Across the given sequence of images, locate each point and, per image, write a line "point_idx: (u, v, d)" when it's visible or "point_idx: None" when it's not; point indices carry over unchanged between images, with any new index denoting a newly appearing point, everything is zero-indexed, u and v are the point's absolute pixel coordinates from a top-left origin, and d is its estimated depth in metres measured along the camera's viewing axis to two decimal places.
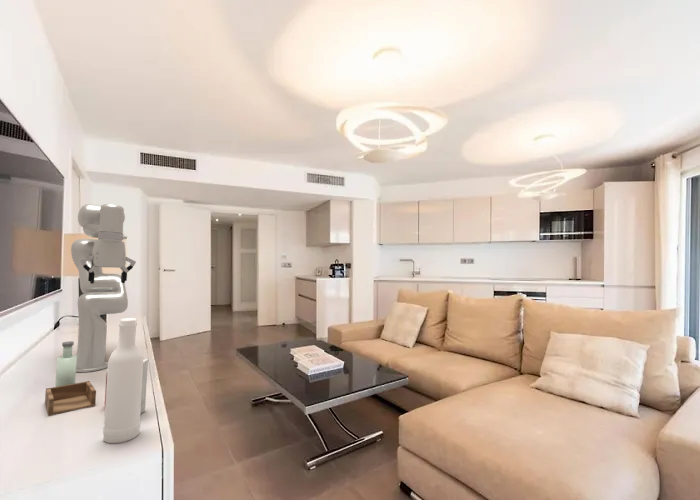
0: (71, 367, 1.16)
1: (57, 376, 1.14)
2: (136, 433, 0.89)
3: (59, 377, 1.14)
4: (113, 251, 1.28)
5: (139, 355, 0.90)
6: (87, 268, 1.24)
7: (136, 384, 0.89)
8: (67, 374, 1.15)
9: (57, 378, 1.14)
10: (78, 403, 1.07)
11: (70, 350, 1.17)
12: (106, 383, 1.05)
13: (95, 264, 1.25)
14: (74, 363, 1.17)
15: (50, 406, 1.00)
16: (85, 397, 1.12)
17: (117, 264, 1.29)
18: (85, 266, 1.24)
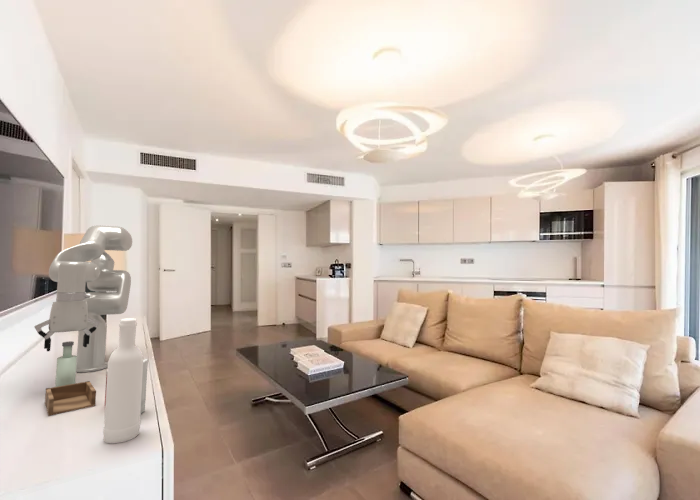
0: (71, 367, 1.16)
1: (57, 376, 1.14)
2: (136, 433, 0.89)
3: (59, 377, 1.14)
4: (73, 313, 1.16)
5: (139, 355, 0.90)
6: (42, 334, 1.12)
7: (136, 384, 0.89)
8: (67, 374, 1.15)
9: (57, 378, 1.14)
10: (78, 403, 1.07)
11: (70, 350, 1.17)
12: (106, 383, 1.05)
13: (52, 330, 1.13)
14: (74, 363, 1.17)
15: (50, 406, 1.00)
16: (85, 397, 1.12)
17: (78, 327, 1.17)
18: (40, 332, 1.11)
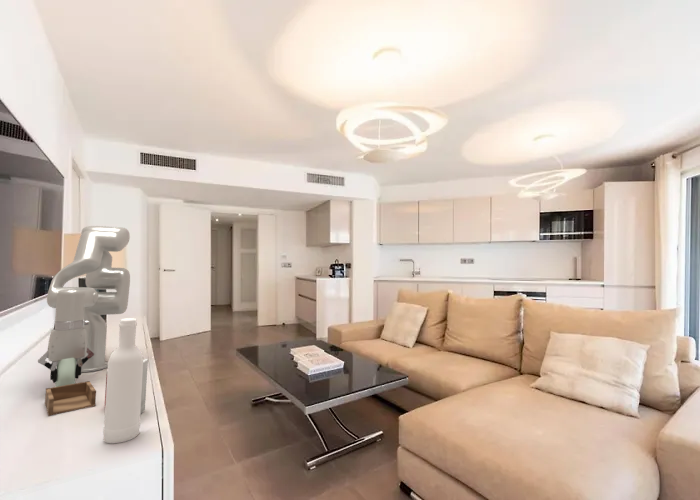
0: (71, 367, 1.16)
1: (57, 376, 1.14)
2: (136, 433, 0.89)
3: (59, 377, 1.14)
4: (72, 341, 1.16)
5: (139, 355, 0.90)
6: (49, 366, 1.13)
7: (136, 384, 0.89)
8: (67, 374, 1.15)
9: (57, 378, 1.14)
10: (78, 403, 1.07)
11: None
12: (106, 383, 1.05)
13: (50, 359, 1.13)
14: (74, 363, 1.17)
15: (50, 406, 1.00)
16: (85, 397, 1.12)
17: (76, 355, 1.17)
18: (46, 364, 1.13)
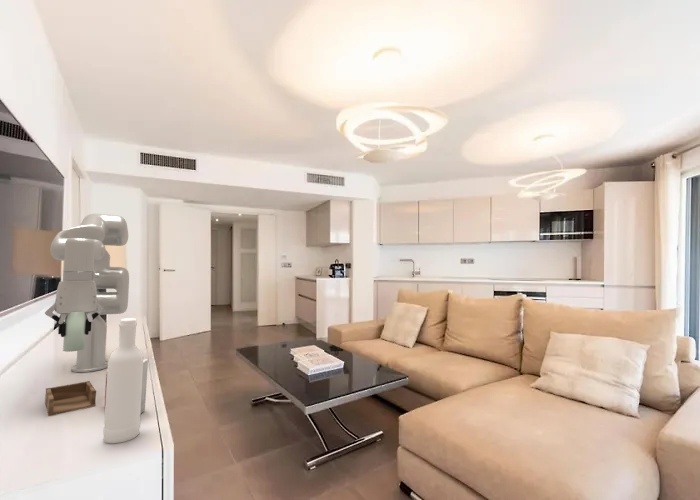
0: (80, 321, 1.07)
1: (66, 330, 1.06)
2: (136, 433, 0.89)
3: (68, 332, 1.05)
4: (81, 294, 1.08)
5: (139, 355, 0.90)
6: (56, 319, 1.04)
7: (136, 384, 0.89)
8: (77, 328, 1.06)
9: (66, 332, 1.06)
10: (78, 403, 1.07)
11: None
12: (106, 383, 1.05)
13: (58, 311, 1.04)
14: (83, 318, 1.08)
15: (50, 406, 1.00)
16: (85, 397, 1.12)
17: (86, 309, 1.09)
18: (54, 317, 1.04)
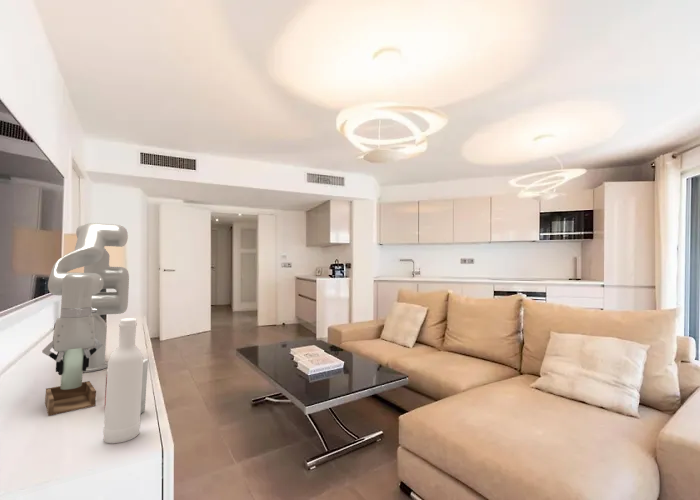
0: (78, 358, 1.07)
1: (63, 368, 1.05)
2: (136, 433, 0.89)
3: (66, 369, 1.05)
4: (79, 330, 1.07)
5: (139, 355, 0.90)
6: (54, 357, 1.04)
7: (136, 384, 0.89)
8: (74, 365, 1.06)
9: (63, 370, 1.05)
10: (78, 403, 1.07)
11: None
12: (106, 383, 1.05)
13: (56, 349, 1.03)
14: (81, 354, 1.07)
15: (50, 406, 1.00)
16: (85, 397, 1.12)
17: (84, 345, 1.08)
18: (51, 355, 1.03)
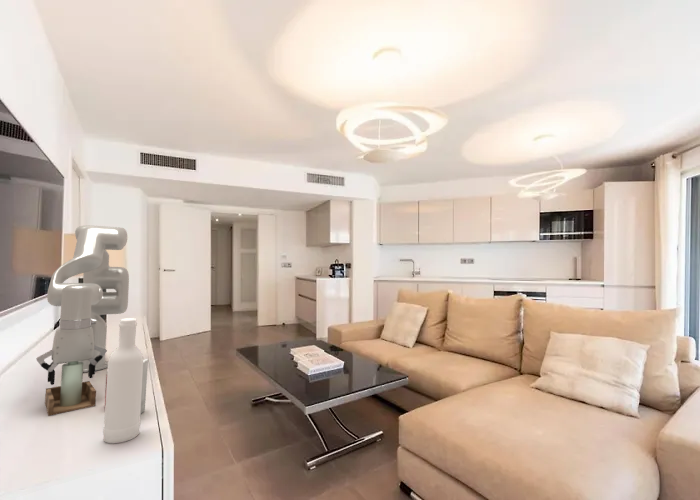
0: (77, 375, 1.06)
1: (62, 385, 1.05)
2: (136, 433, 0.89)
3: (65, 386, 1.05)
4: (78, 342, 1.07)
5: (139, 355, 0.90)
6: (46, 367, 1.02)
7: (136, 384, 0.89)
8: (73, 382, 1.06)
9: (62, 387, 1.05)
10: None
11: None
12: (106, 383, 1.05)
13: (55, 361, 1.03)
14: (80, 371, 1.07)
15: (50, 406, 1.00)
16: (85, 397, 1.12)
17: (83, 357, 1.08)
18: (43, 365, 1.02)
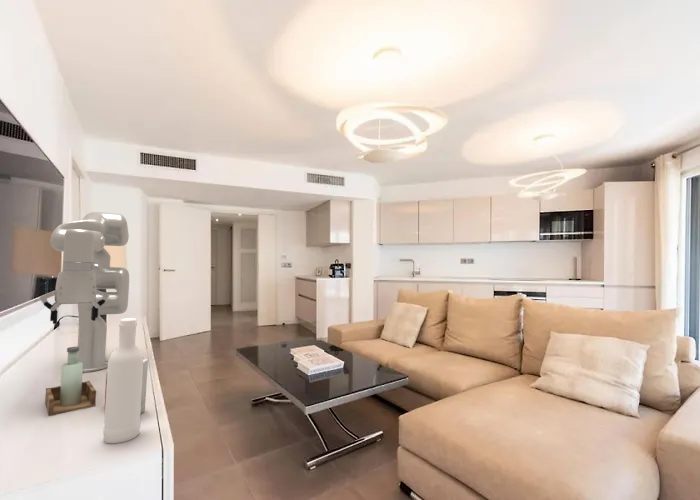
0: (77, 374, 1.06)
1: (62, 385, 1.05)
2: (136, 433, 0.89)
3: (64, 386, 1.05)
4: (81, 284, 1.09)
5: (139, 355, 0.90)
6: (48, 306, 1.04)
7: (136, 384, 0.89)
8: (73, 382, 1.06)
9: (62, 387, 1.05)
10: (78, 403, 1.07)
11: (75, 356, 1.07)
12: (106, 383, 1.05)
13: (58, 301, 1.05)
14: (80, 371, 1.07)
15: (50, 406, 1.00)
16: (85, 397, 1.12)
17: (86, 299, 1.10)
18: (46, 304, 1.04)
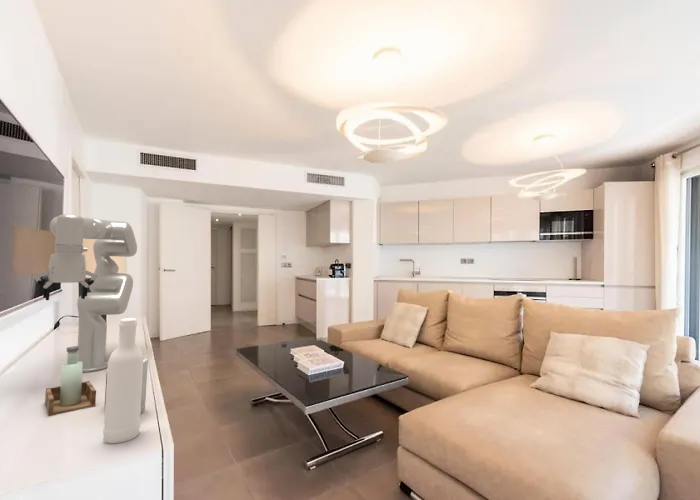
0: (76, 374, 1.07)
1: (62, 384, 1.05)
2: (136, 433, 0.89)
3: (64, 386, 1.05)
4: (71, 265, 1.20)
5: (139, 355, 0.90)
6: (41, 284, 1.15)
7: (136, 384, 0.89)
8: (72, 381, 1.06)
9: (62, 386, 1.05)
10: (78, 403, 1.07)
11: (75, 356, 1.08)
12: (106, 383, 1.05)
13: (50, 279, 1.16)
14: (79, 370, 1.07)
15: (50, 406, 1.00)
16: (85, 397, 1.12)
17: (76, 279, 1.21)
18: (39, 282, 1.15)
